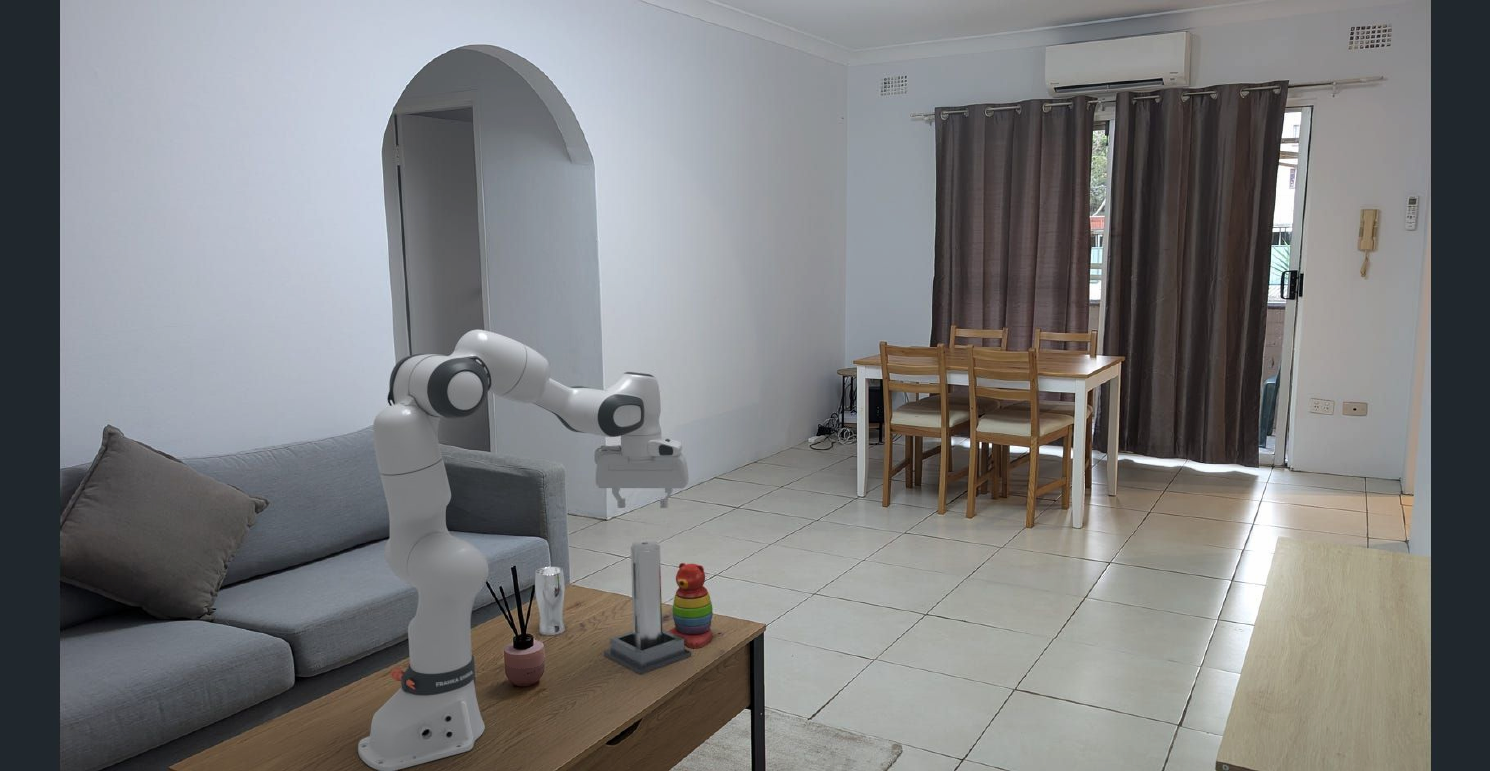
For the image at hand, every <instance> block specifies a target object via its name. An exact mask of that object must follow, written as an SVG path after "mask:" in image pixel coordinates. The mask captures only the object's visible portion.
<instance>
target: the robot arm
mask: <svg viewBox="0 0 1490 771" xmlns="http://www.w3.org/2000/svg"><path fill="white" fill-rule="evenodd" d="M488 392H489V393H492V394H494V395H496V396H498V397H501V398H504V399H506V400H509V401H513V402H518V403H522V404H531V403H532V404H534V405H536V406H538V407H539V408H542V409H544V410H546V411H548V412H550V413H552V414H553V415H554V416H556V418H558V420H559V421H560V422H561V423H562V425H563V426H564V427H565V428H566V429H568V430H570V431H571V432H574V433H582V434H583V433H584V434H591V435H595V436H601V437H607V438H616V437H618V438H619V437H620V444H619V445H601V446H600V447H598V448H597V449H596V450H595V451H594V454H593V456H594V462H595V464H596V469H595V485H596V486H597V488H598V489H611V493H612V495H613V497H614V498H615V500H616V501H617V509H624V508H626V498H622V496H621V494H620V491H621V489H664V493H665V494H666V496H664V498H661V499H660V500H659V501H660V502H659V503H660V505H659V507H660V509H668V507H669V498H670V496H671V495H672V493H673V489H684V488H686V487H687V485H688V484H689V470H688V469H689V468H688V463H687V460H686V457H685V455H684V454H683V453H682V450H683V444H682V442H681V441H679V440H676V439H673V438H669V437H666V436H663V435H662V429H661V425H660V415H661V411H662V410H661V409H662V408H661V393H660V392H661V391H660V386H659V382H658V380H657V378H656V377H655V376H654V375H652V374H650V373H641V372H636V371H635V372H634V371H626V372H624V373H622V375H621V377H620V378H619V379H618V380H617V381H616V382H615V383H613V385H612V386H610V387H608V388H605V389H604V390H603V389H596V388H591V387H587V386H582V385H576V386H575V385H574V386H566V385H564V384H563V383H560V382H559V381H556V380H554V379H553V378H551V368H550V364H549V362H548V359H547V358H546V357H545V356H543V355H542V354H541V353H539V352H537V350H535V349H533V348H531V346H528V345H527V344H524V343H522V342H519V341H517V340H516V339H513V338H510V337H508V336H505V335H503V334H500V333H496V332H493V331H489V330H484V329H472V330H470V331H468V332H466V333H465V334H463V335H462V336H461V338H459V340H458V342H456V345H455V348H454V351H453V352H452V353H450V355H444V354H434V353H433V354H429V353H414V354H410V355H408V356H406V357H405V356H404V357H403V358H402V359H400V360H399V361H398V362H396V364H395V365H394V367H393V369H392V371H391V373H390V377H389V388H388V394H387V403H388V405H389V406H387V407H386V408H383V409H382V410H381V411H380V412H378V414H376V416H375V417H374V420H373V444H374V453H375V458H376V464H377V468H378V472H379V476H380V480H381V483H382V489H383V492H384V497H385V500H386V505H387V511H388V518H389V538H388V540H387V542H386V544H385V547H384V560H385V563H386V566H388V567H387V568H389V569H390V571H392V573H393V574H394V575H395V576H396V577H397V578H398V579H399V580H400V581H402V582H404V583H405V584H407V585H410V586H411V587H414V588H416V590H417V593H418V603H417V608H416V613H415V616H414V617H413V618H412V619H411V620H410V622H409V624H408V626H407V627H408V628H407V635H408V650H409V664H408V667H407V668H406V670H405V671H404V670H402V669H401V668H400V667H396V668H393V669H392V670H391V672H390V676H391V678H392V679H394V680H395V681H396V682H400V684H401V686H400V687H399V689H398V690H397V691H396V692H395V693H394V694H393V695H392V696H391V697H390V698H389V699H388V700H387V701H386V702H385V703H384V704H383V705H381V707H380V708H379V709H377V711H376V712H375V713H374V714H373V716H372V717H373V718H372V720H371V725H370V734H369V735H368V736H366V737H364V738H362V739H360V740H359V741H358V746H357V753H358V756H359V757H360V759H361V760H362V761H363V763H365V764H366V765H368V766H369V767H370V768H372V769H374V770H377V771H398V770H402V769H407V768H410V767H413V766H418V765H421V764H425V763H428V762H432V761H436V760H440V759H443V758H447V757H450V756H455V755H458V754H463V753H466V752H469V751H471V750H472V749H473V748H474V745H475V742H476V740H478V739H479V738H480V737H481V735H482V734H484V731H485V727H486V726H485V722H484V720H483V718H482V714H481V712H480V708H479V703H478V700H477V694H476V688H475V687H476V686H475V684H476V680H477V679H476V675H477V674H476V673H477V672H476V664H475V663H476V662H475V657H474V655H472V635H471V633H472V632H471V631H472V629H471V622H472V620H471V619H472V612H473V606H474V602H475V598H476V596H477V595H478V594H479V593H480V592H481V591H482V589H483V588H484V587H485V585H486V583H487V579H488V576H489V563H488V560H487V558H486V557H485V554H483V553H482V552H481V551H480V550H479V549H478V548H477V547H476V546H475V545H474V544H472V543H471V542H469V541H468V540H465V539H462V538H460V537H457V536H454V535H452V534H451V533H450V531H449V530H448V528H447V527H448V526H447V521H446V517H447V516H446V514H447V513H446V511H447V506H448V505H449V503H450V501H451V499H452V492H451V488H450V482H449V479H448V478H449V477H448V475H447V471H446V467H445V462H444V457H443V454H442V450H441V446H440V443H439V440H438V439H439V437H438V436H439V435H438V433H439V432H438V431H439V423H440V421H441V417H442V418H445V419H446V418H447V419H454V420H455V419H463V418H465V417H469V416H471V415H474V413H476V412H477V411H478V410H479V409H480V408H481V406H482V405H483V403H484V402H485V400H486V397H487V395H488ZM391 402H392V403H391Z"/></svg>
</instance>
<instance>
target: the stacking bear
mask: <svg viewBox="0 0 1490 771" xmlns="http://www.w3.org/2000/svg"><path fill="white" fill-rule="evenodd" d="M676 572H677V573H676V574H675V583H676V585H677V587H678V588H677V589H676V591H675V594H674V597H673V603H672V609H671V610H672V617H673V622H674V626H675V627H672V628H671V629H669V630H668V632H670V633H672V634H674V635H676V636H679V637H681V638H683V639H684V646H687V647H688V648H691V649H700V648H702V647H704V646H706V645H708V644H709V643H710V642H711V641H712V639H713V631H712V629H711V626H712V619H713V605H712V604H713V603H712V601H711V596H710V593H709V591H708V589H707V588H706V587H705V586H704V585H705V582H706V573H705V568H704V566H702V565H700V564H696V563H684V562H681V563H680V564H679V565H678V570H677V571H676Z"/></svg>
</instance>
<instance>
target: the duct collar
mask: <svg viewBox="0 0 1490 771" xmlns="http://www.w3.org/2000/svg"><path fill="white" fill-rule="evenodd" d="M668 631H669V630H668ZM668 631H667V630H665V629H663V628H662V633H663V644H660V645H657V646H654V647H651V648H648V649H645V650H643V651H642V650H640V649H638V648H636V647H634V635H633V630H632V631H629V632H625V633H623V634H620V635H617V636H614V637H611V638H609V645H610V648H609V649H606V650H604V651H603V656H605V657H606V658H608V659H610V660H612V661H614V662H616V663H617V664H619V665H621V666H624V667H625V668H627V669H629V670H631V671H633V672H634V673H636V674H638V675H644V674H646V673H648V672H650V671H654V670H657V669H660V668H663V667H665V666H668V665H670V664H673V663H676V662H680V661H682V660H685V659H687V658H690V657H692V651H690V650H688V649H686V648H685V644H684V639H683V638H681V637H679V636H676V635H674V634H672V633H670V632H668Z"/></svg>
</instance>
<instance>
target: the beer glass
mask: <svg viewBox="0 0 1490 771" xmlns="http://www.w3.org/2000/svg"><path fill="white" fill-rule="evenodd" d="M564 576H565V574H564V569H563V567H559V566H544V567H541V568H538V569H536V570H535V578H534V579H535V580H534V585H535V586H534V592H535V598H536V604H537V607H538V608H537V609H538V613H539V628H538V633H539V634H540V635H542V636H550V637H551V636H556V635H557V636H558V635H561V634H563V633H564V632H565V630H566V628H565V623H564V618H563V616H564V615H563V612H564V603H565V594H566V583H565V582H566V581H565V577H564Z"/></svg>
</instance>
